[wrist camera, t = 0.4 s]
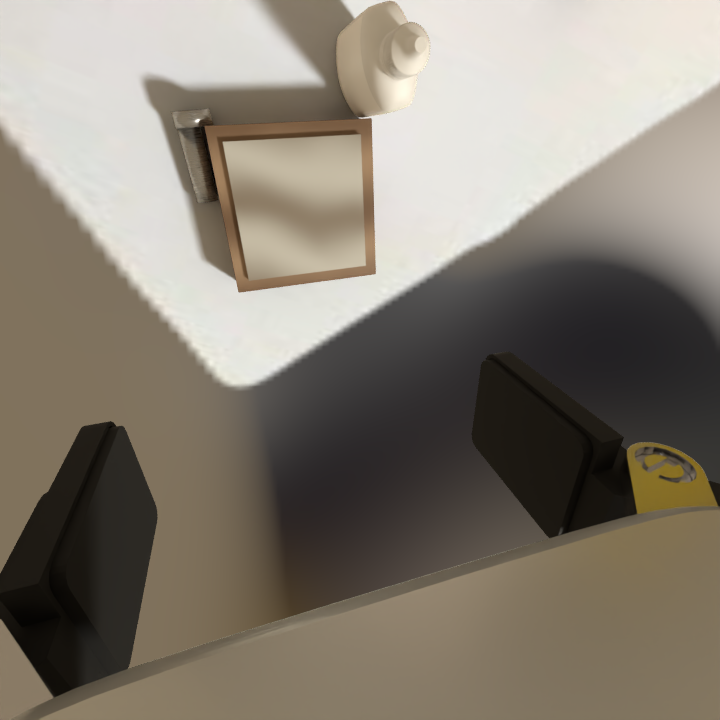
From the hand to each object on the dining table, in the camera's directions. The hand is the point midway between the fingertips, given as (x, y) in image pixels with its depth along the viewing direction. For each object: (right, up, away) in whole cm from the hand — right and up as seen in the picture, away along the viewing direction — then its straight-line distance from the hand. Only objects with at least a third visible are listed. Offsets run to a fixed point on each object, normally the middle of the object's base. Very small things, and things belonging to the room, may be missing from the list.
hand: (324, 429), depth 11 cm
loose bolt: (-12, +17, +20) cm, 28 cm away
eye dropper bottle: (+1, +24, +21) cm, 32 cm away
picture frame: (-5, +15, +24) cm, 28 cm away
